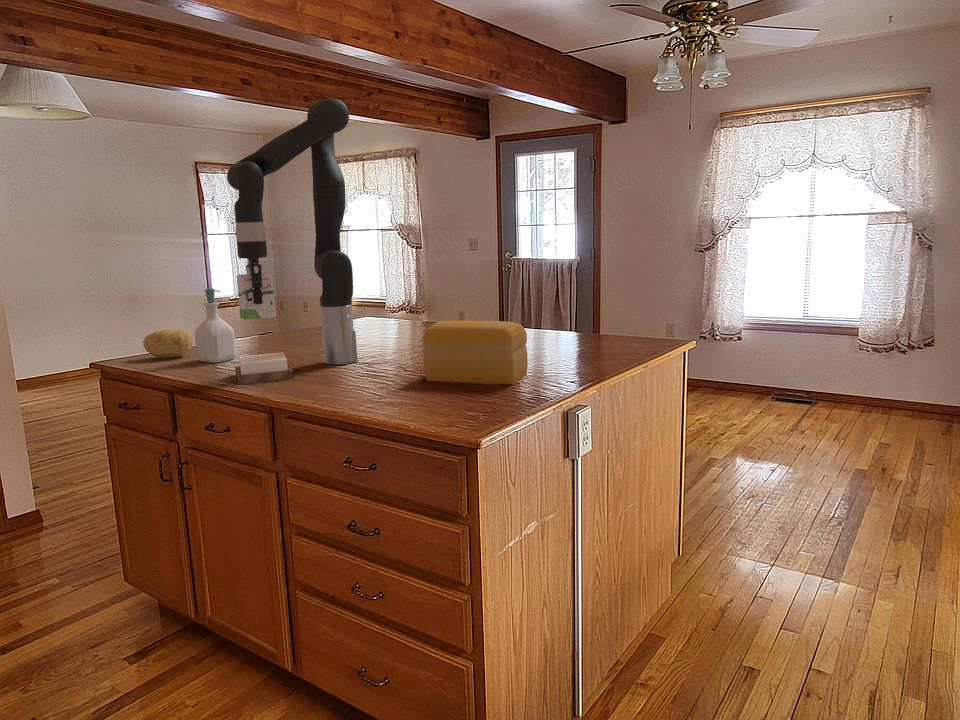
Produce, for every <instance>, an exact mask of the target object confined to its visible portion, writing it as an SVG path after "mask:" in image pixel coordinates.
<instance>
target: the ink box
mask: <svg viewBox="0 0 960 720" xmlns="http://www.w3.org/2000/svg"><path fill="white" fill-rule="evenodd" d="M262 277H263V280H262V284H263V286H262V301H263V303H262V304H254V299H253V290H252V283H251V282H250V281H249V275H248V274H247V273H245V274H243V273H241V274H237V275H236V283H237V294H238V295H237V296H238V305H239V317H240V319H242V320H256V319H266V318H275V317H277V314H276V313H277V312H276V304H275V302H276V301H275V291H274V280H273V274H271V273H268V272H267V273H266V272H265V273H263V272H262ZM251 278H252V276H251ZM255 283H259V282H254V284H255Z"/></svg>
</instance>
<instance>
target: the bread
mask: <svg viewBox="0 0 960 720" xmlns="http://www.w3.org/2000/svg"><path fill="white" fill-rule="evenodd" d="M527 341H528V334H527V331H526V328H524V326H522V325H521V324H520V323H517V322H513V321H512V322H511V321H500V320H499V321H498V320H497V321H496V320H442V321H438V322H435V323H434V324H432V325H431V326H430V327H429V328H427V329H426V330H425V332H424V335H423V338H422V345H423V348H424V351H423V353H424V354H423V368H424V375H425V379H426V381H430V382H442V383H443V382H444V383H445V382H448V383H461V384H462V383H464V384H465V383H466V384H467V383H468V384H481V383H484V385H500V384H513V385H515V384H517V383H518V382H520V381H521V380H522V379H524V378H525V377H526V376H527V374H528V363H529V362H528V361H529V360H528V348H527V345H526V344H527ZM524 376H525V377H524ZM523 377H524V378H523ZM521 378H522V379H521ZM520 379H521V380H520ZM519 380H520V381H519ZM517 381H518V382H517ZM516 382H517V383H516ZM514 383H515V384H514Z"/></svg>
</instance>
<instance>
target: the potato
mask: <svg viewBox="0 0 960 720" xmlns="http://www.w3.org/2000/svg"><path fill="white" fill-rule="evenodd" d="M142 343H143V345H142V346H143V348H144V349H145V351H146V352H147V353H148V354H150V355H152V356H154V357H155V358H160V359H170V358H171V359H172V358H180V357H182V356H184V355H185V354H187V353H189V351H190V350H191V349H192V347H193V343H194V341H193V337H192V336H191V335H190V333H188V332H187V331H185V330H182V329H163V330H158V331H154V332H153V331H152V332H151V333H149V334H147V335H146V336H145V337H144V339H143V341H142Z"/></svg>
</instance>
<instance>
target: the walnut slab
mask: <svg viewBox="0 0 960 720" xmlns="http://www.w3.org/2000/svg"><path fill="white" fill-rule="evenodd" d="M287 367H288V370H286V371H276V372H266V373H257V374H247V375H241V368H240V366H235V367H234V370H235V376H236V378H237V379H236V380H237V381H238V385H247V384H256V383H265V382H274V381H282V380H284V381H285V380H290V379H292V378H293V379H294V370H293V369H292V367H291V366H290V364H289V363H287Z"/></svg>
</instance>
